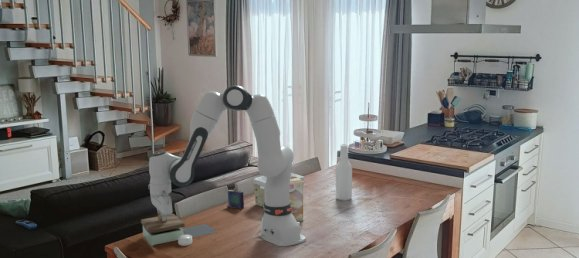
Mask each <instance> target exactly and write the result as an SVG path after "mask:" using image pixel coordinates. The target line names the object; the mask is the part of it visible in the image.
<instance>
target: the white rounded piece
mask: <svg viewBox="0 0 579 258" xmlns="http://www.w3.org/2000/svg"><path fill="white" fill-rule="evenodd" d="M177 243H178V245H179V246H182V247H184V246H189V245H192V244H193V237H192V236H191V235H186V234H184V235H181V236H179V237H178V240H177Z"/></svg>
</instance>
